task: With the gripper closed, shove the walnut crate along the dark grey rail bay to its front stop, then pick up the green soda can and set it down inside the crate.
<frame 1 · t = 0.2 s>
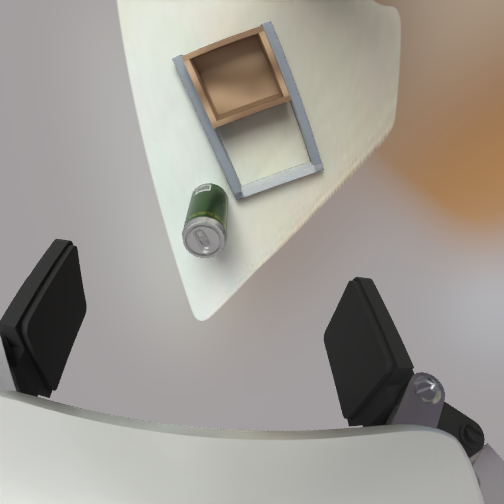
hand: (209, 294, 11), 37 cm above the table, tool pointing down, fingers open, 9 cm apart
crate: (236, 75, 36), point 3 cm above the table, slide at 0.0 cm
green soda can: (209, 197, 48), on the table
bay: (251, 110, 41), on the table
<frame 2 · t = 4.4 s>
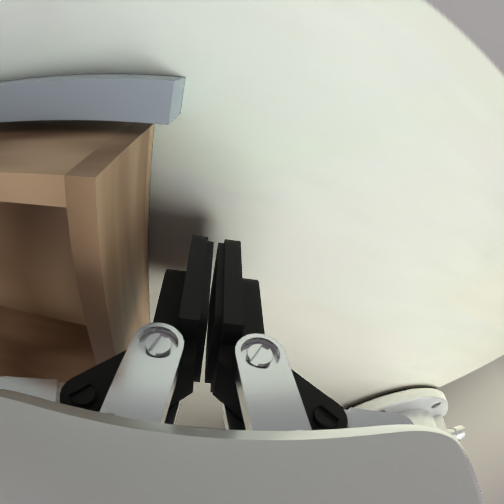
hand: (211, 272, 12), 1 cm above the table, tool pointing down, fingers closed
crate: (12, 272, 9), point 3 cm above the table, slide at 0.3 cm, touching gripper
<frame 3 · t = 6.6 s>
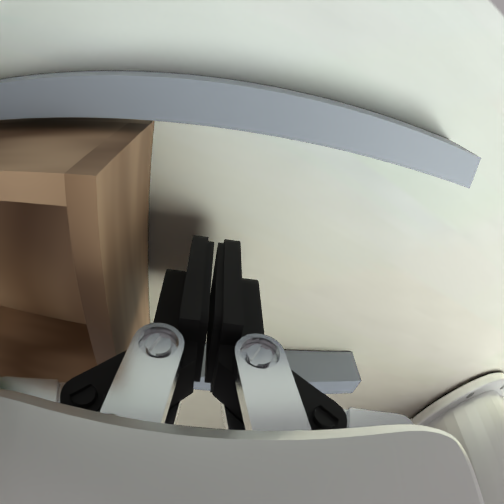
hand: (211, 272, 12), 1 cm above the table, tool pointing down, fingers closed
crate: (11, 271, 9), point 3 cm above the table, slide at 10.2 cm, touching gripper
bay: (141, 246, 12), on the table
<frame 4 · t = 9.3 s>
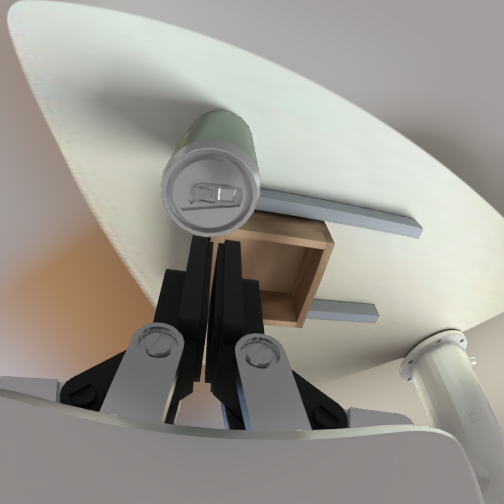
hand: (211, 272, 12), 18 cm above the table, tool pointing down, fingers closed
crate: (261, 266, 30), point 3 cm above the table, slide at 10.0 cm
green soda can: (220, 138, 26), on the table
bay: (302, 257, 33), on the table
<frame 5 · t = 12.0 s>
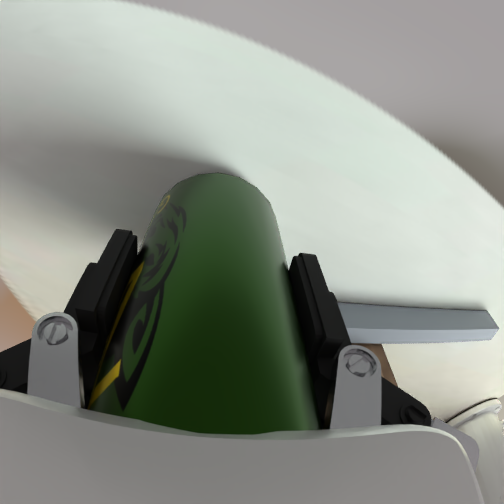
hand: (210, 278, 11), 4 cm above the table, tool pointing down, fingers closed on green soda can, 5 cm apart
crate: (282, 402, 19), point 3 cm above the table, slide at 10.0 cm
green soda can: (215, 220, 15), on the table, touching gripper
bay: (338, 371, 22), on the table
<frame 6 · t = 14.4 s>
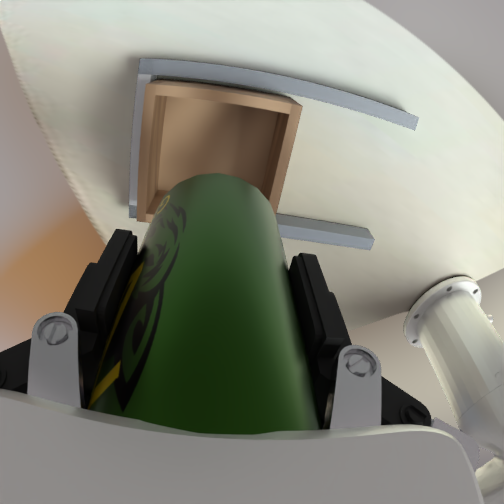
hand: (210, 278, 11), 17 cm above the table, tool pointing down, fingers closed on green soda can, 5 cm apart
crate: (213, 154, 23), point 3 cm above the table, slide at 10.0 cm
green soda can: (215, 221, 15), point 13 cm above the table, touching gripper
bay: (270, 153, 26), on the table
when the fingers open (6 cm above the table, at t = 16.7 s): green soda can drops 1 cm, resting on crate.
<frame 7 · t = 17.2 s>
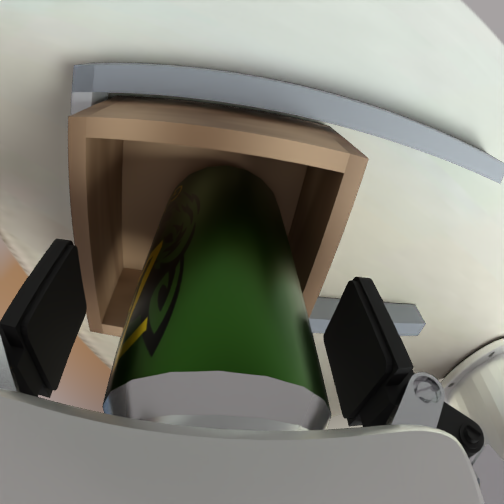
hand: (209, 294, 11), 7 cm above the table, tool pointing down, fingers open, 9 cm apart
crate: (203, 228, 14), point 3 cm above the table, slide at 10.0 cm, touching green soda can
green soda can: (223, 210, 16), point 1 cm above the table, touching crate
bay: (293, 214, 17), on the table
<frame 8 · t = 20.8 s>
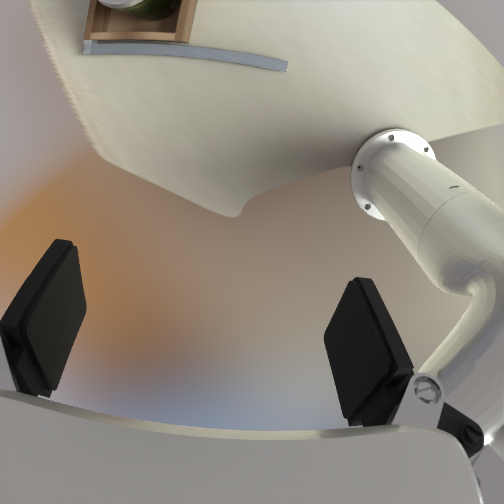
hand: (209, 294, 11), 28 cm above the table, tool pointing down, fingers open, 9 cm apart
bay: (192, 1, 26), on the table
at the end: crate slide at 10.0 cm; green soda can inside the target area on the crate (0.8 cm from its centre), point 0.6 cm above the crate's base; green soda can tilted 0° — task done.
